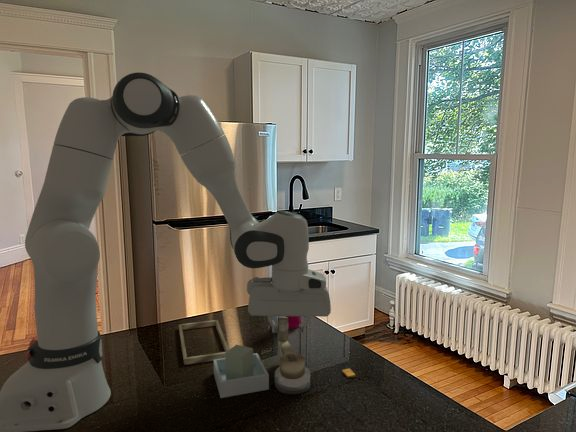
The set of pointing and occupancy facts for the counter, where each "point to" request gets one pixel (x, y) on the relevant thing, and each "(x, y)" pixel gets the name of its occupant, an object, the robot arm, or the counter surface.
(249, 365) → the block
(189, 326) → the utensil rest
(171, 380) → the counter surface
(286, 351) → the crank
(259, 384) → the tray
